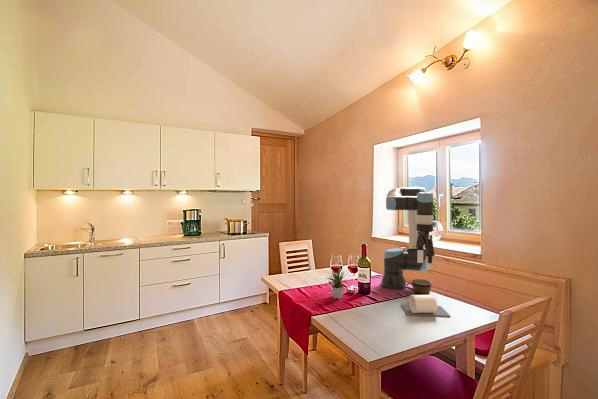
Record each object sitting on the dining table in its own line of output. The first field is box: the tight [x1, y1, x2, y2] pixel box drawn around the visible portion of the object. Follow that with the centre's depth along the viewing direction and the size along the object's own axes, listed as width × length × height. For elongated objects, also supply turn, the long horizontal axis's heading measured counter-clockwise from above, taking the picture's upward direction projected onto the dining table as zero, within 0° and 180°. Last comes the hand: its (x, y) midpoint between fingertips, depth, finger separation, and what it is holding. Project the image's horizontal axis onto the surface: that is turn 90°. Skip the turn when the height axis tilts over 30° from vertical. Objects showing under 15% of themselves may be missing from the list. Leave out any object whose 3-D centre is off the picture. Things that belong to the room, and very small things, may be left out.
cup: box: [408, 294, 438, 313], centre depth 140 cm, size 8×12×10 cm
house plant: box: [324, 267, 348, 299], centre depth 162 cm, size 14×14×16 cm
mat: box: [400, 304, 451, 318], centre depth 141 cm, size 20×12×1 cm, turn 83°
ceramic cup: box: [406, 278, 432, 295], centre depth 157 cm, size 13×10×10 cm
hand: (424, 266), depth 141 cm, fingers open, 13 cm apart
